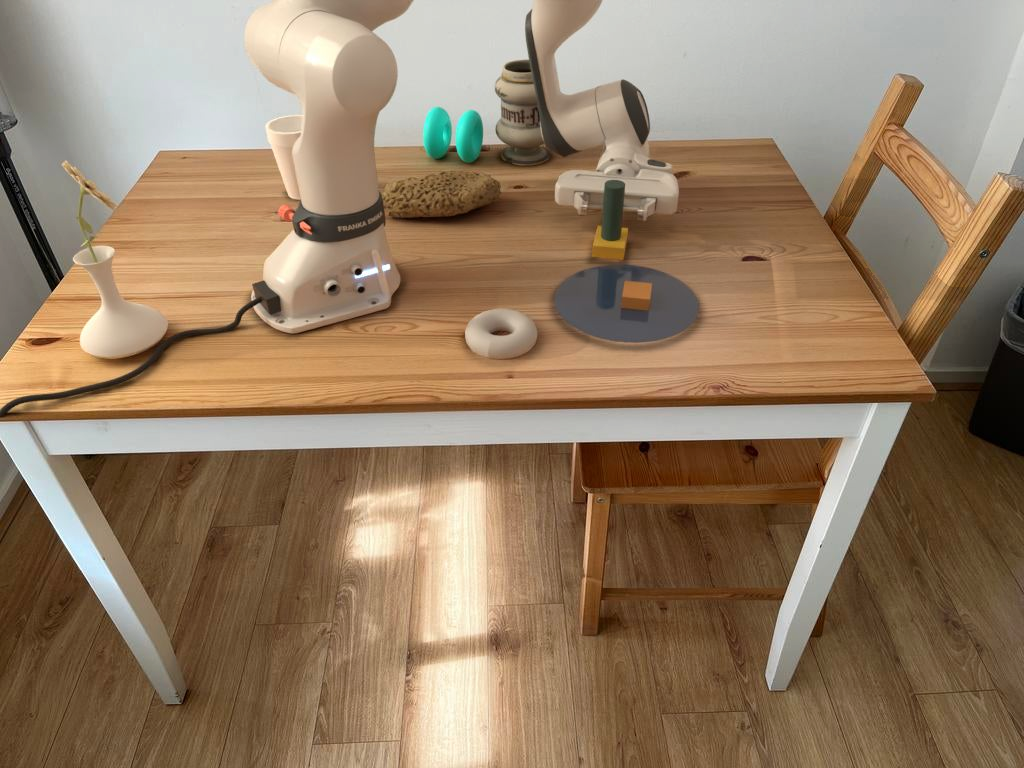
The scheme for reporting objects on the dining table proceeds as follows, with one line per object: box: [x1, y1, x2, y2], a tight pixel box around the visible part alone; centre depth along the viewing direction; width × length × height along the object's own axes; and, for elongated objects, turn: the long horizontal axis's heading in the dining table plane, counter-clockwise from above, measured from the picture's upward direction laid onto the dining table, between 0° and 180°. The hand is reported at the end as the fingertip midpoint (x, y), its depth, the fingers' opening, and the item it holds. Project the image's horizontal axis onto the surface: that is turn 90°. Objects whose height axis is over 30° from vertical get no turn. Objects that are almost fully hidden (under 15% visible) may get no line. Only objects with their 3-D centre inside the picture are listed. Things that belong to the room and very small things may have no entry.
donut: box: [464, 308, 539, 360], centre depth 105 cm, size 10×4×10 cm
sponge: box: [381, 170, 502, 219], centre depth 136 cm, size 13×8×20 cm
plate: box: [553, 264, 700, 344], centre depth 113 cm, size 21×21×1 cm
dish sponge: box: [591, 180, 629, 261], centre depth 122 cm, size 7×5×12 cm
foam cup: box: [264, 114, 302, 201], centre depth 141 cm, size 10×9×13 cm
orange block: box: [621, 281, 652, 311], centre depth 112 cm, size 4×4×2 cm
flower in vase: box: [61, 160, 169, 360], centre depth 100 cm, size 13×11×25 cm
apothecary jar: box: [494, 58, 550, 167], centre depth 152 cm, size 12×12×18 cm
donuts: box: [422, 106, 484, 163], centre depth 154 cm, size 10×10×10 cm
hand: (611, 213), depth 122 cm, fingers open, 8 cm apart
